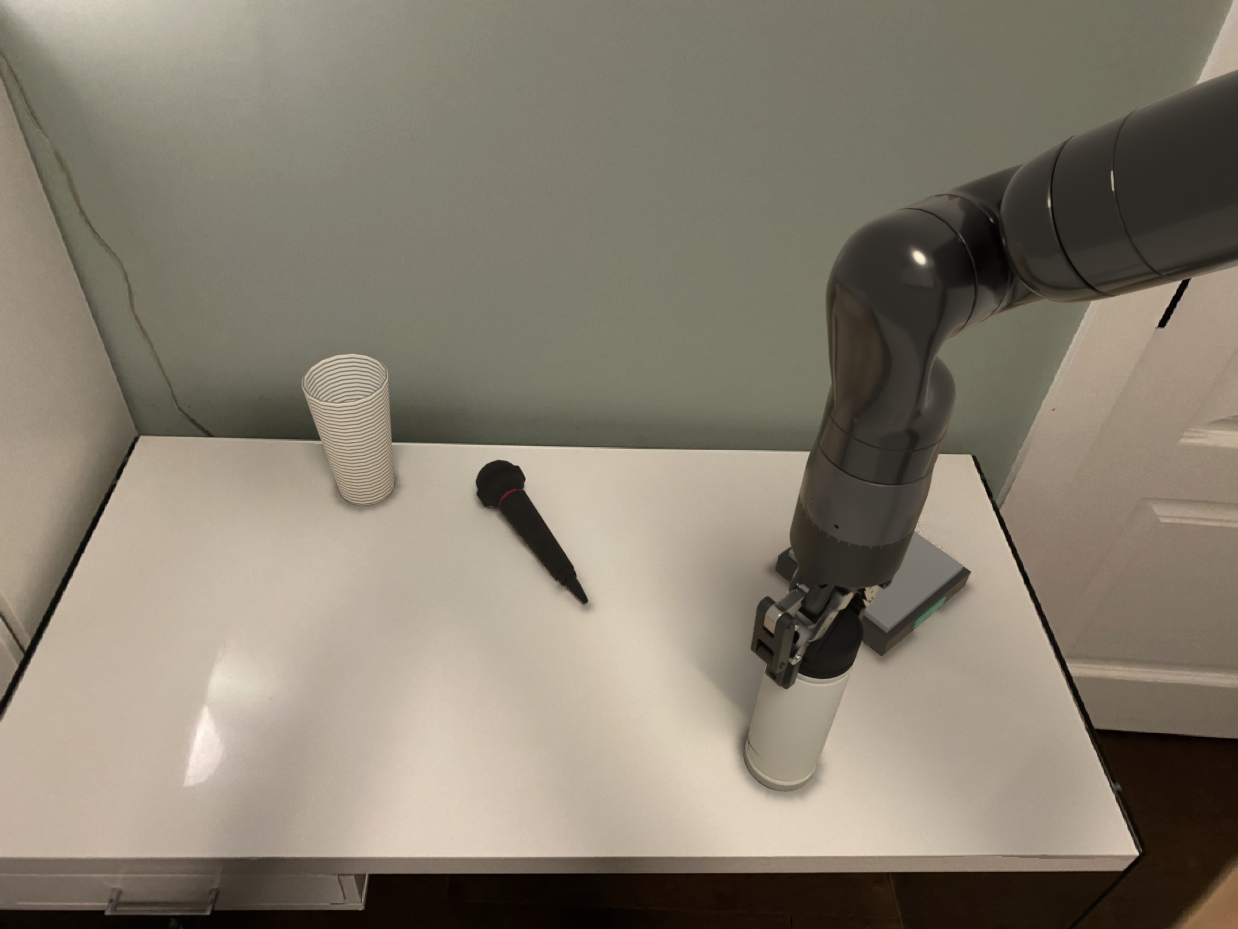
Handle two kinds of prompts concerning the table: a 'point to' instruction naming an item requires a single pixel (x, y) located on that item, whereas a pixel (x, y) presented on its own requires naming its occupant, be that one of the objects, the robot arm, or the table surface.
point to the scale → (903, 592)
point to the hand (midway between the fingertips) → (811, 653)
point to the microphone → (526, 519)
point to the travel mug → (802, 707)
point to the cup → (353, 423)
